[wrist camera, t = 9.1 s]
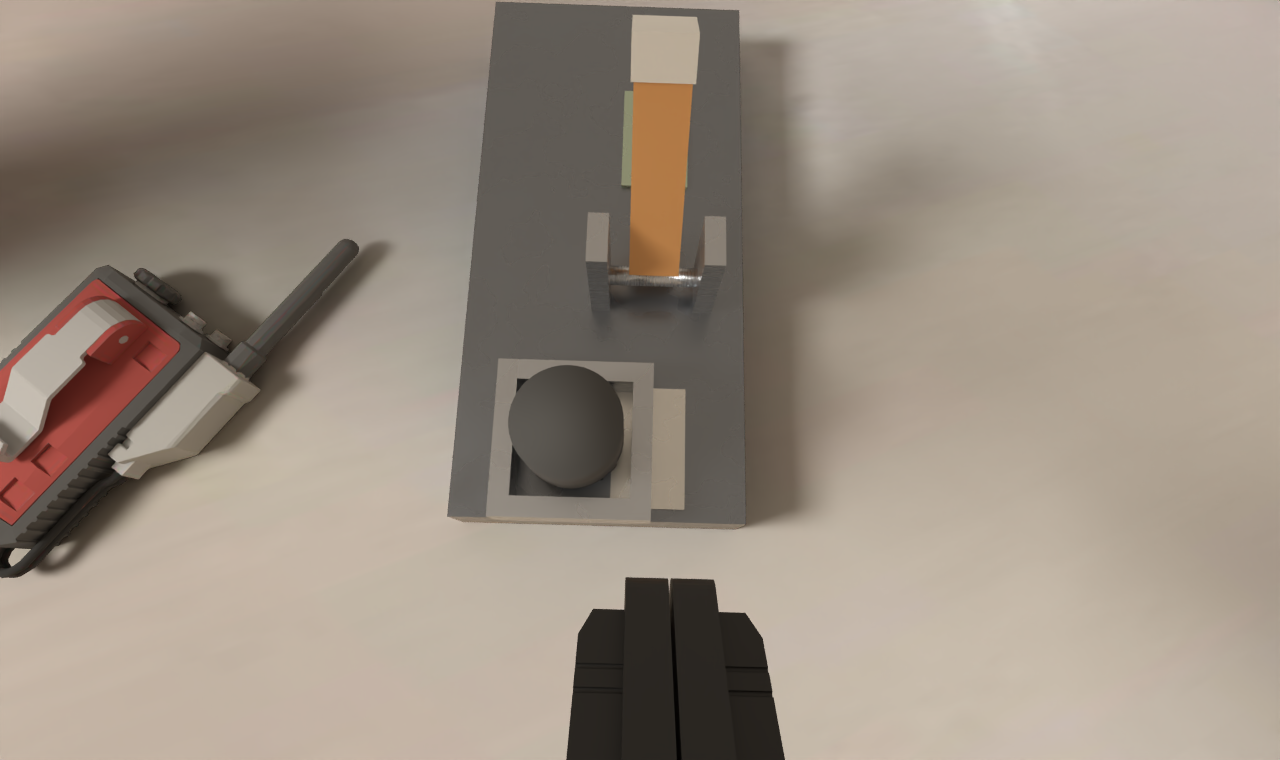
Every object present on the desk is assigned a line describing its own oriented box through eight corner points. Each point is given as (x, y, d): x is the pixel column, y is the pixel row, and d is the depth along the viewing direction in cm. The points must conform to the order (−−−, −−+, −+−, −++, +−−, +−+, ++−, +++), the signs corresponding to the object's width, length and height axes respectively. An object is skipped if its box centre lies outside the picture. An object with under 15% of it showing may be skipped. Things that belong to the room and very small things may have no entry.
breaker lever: (626, 276, 29) (631, 30, 23) (627, 251, 31) (632, 14, 25) (681, 277, 29) (699, 33, 23) (679, 252, 31) (696, 16, 25)
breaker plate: (463, 524, 32) (411, 506, 24) (505, 44, 39) (475, -89, 31) (735, 531, 32) (769, 516, 24) (730, 52, 39) (756, -78, 31)
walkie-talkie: (67, 612, 31) (381, 266, 36) (-22, 616, 27) (347, 223, 31) (-70, 489, 32) (250, 171, 37) (-175, 475, 28) (201, 117, 33)
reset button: (516, 487, 27) (503, 476, 25) (523, 385, 28) (512, 363, 26) (622, 490, 27) (621, 479, 25) (625, 388, 29) (625, 366, 26)
